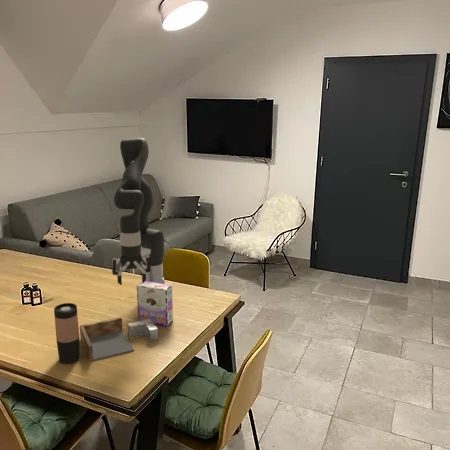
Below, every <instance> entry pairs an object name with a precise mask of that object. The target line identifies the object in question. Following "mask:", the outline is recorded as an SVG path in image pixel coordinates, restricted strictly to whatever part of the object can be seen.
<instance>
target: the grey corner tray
mask: <svg viewBox="0 0 450 450" xmlns="http://www.w3.org/2000/svg"><path fill="white" fill-rule="evenodd" d="M89 340H90V342H91V344H92V348H93V361H92V362H95V361H99V360H102V359H107V358H110V357H115V356H119V355H123V354H127V353H131V352H134V351H135V349H134V347H133V345H132V343H130V340H129V339H128V338H127V336H126V335H125V332H124V331H123V330H122V331H119V332H114V333H110V334H105V335H100V336H96V337H91V338H89ZM86 353H87V352H86V351H85V354H86ZM86 356H87V357H88V355H87V354H86ZM88 360H90V359H89V358H88Z"/></svg>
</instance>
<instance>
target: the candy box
mask: <svg viewBox="0 0 450 450" xmlns="http://www.w3.org/2000/svg"><path fill="white" fill-rule="evenodd" d="M136 297H137V298H136V300H137V301H136V303H137V317H138V320H137V322H138V321H142V320H147V319H151V321H152V322H153V323H154V325H158V326H164V327H168V326H170V324H171V323H172V322H174V314H173V313H174V311H173V310H174V309H173V304H174V303H173V284H167V283H165V284H161V283H154V282H147V281H144V283H142V281H141V282H140V283H138V284H137V285H136Z"/></svg>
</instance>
